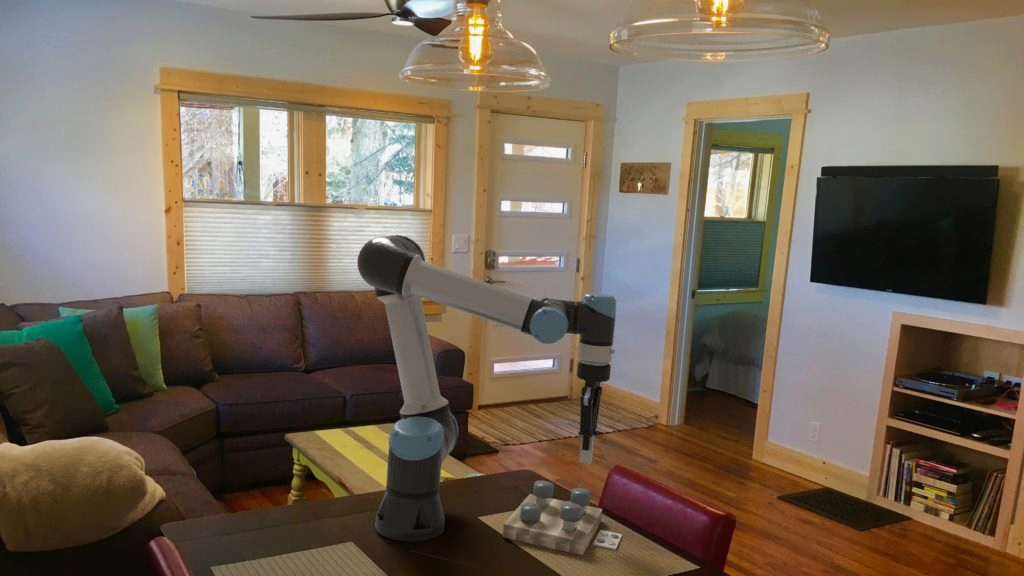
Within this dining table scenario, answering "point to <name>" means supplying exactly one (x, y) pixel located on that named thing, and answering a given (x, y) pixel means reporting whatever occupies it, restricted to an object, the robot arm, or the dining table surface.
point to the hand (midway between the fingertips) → (585, 462)
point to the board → (553, 528)
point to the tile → (607, 540)
